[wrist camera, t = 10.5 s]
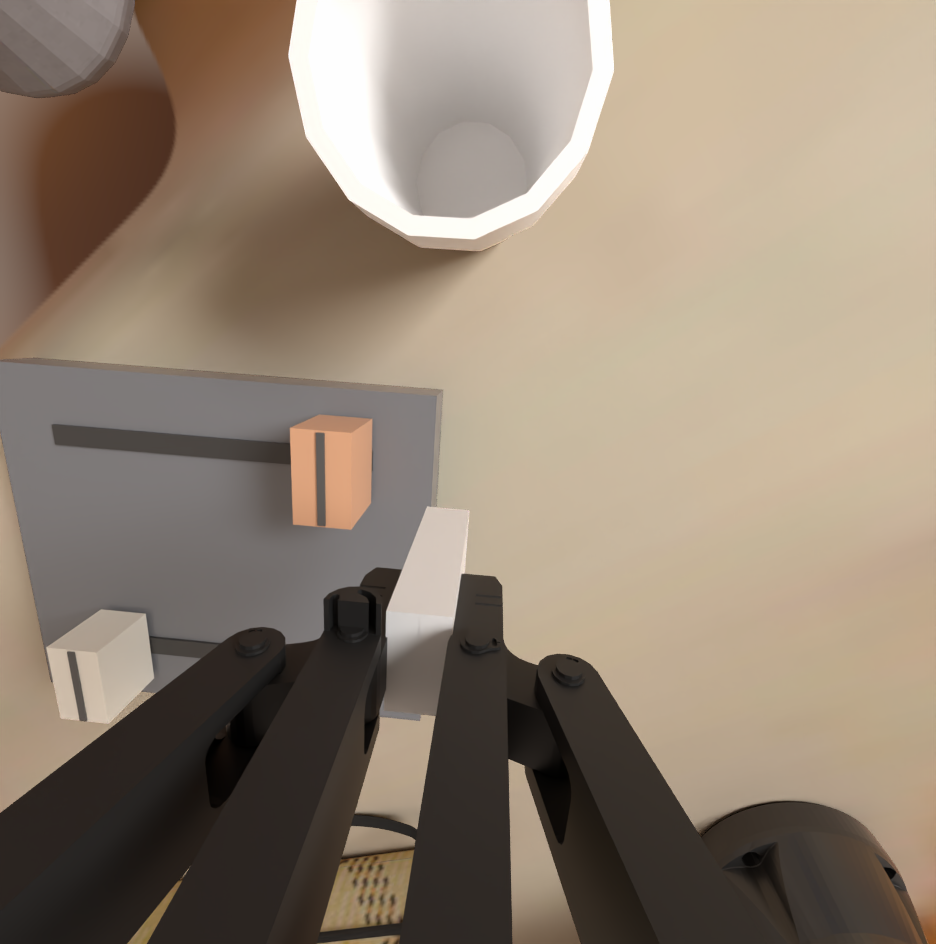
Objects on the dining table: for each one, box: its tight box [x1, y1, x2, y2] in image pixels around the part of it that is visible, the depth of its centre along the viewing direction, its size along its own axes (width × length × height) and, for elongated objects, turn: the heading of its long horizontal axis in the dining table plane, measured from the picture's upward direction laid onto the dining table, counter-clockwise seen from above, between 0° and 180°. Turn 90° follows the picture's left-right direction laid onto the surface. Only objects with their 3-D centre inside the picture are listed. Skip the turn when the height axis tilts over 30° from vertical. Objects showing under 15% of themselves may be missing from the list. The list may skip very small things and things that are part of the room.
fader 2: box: [290, 414, 372, 530], centre depth 26 cm, size 5×3×4 cm, turn 176°
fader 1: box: [46, 609, 154, 724], centre depth 30 cm, size 5×3×4 cm, turn 176°
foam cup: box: [288, 0, 614, 251], centre depth 20 cm, size 10×9×13 cm
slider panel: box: [0, 358, 443, 721], centre depth 32 cm, size 22×26×3 cm
